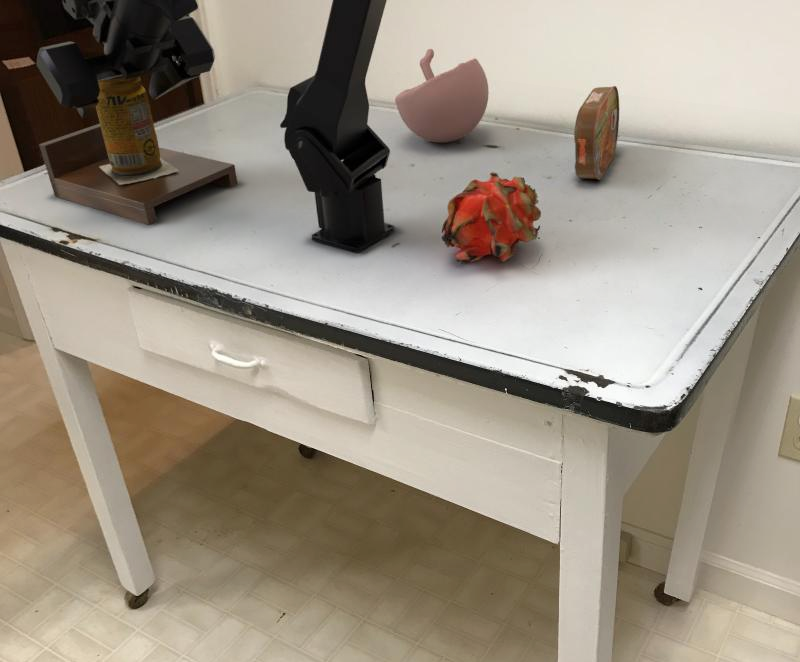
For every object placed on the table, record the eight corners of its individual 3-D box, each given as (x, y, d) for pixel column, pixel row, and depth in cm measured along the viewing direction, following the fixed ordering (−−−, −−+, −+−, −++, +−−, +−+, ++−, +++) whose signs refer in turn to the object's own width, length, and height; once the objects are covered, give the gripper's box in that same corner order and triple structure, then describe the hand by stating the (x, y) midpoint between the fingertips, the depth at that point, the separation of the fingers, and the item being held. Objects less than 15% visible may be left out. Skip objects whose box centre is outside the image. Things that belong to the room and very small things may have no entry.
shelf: (238, 184, 105) (228, 131, 101) (148, 224, 96) (135, 168, 92) (143, 161, 114) (132, 112, 111) (54, 196, 106) (38, 144, 102)
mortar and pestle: (431, 121, 121) (428, 35, 114) (505, 133, 115) (506, 43, 108) (380, 147, 113) (374, 56, 107) (457, 161, 107) (454, 66, 100)
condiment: (155, 154, 108) (133, 55, 102) (179, 172, 102) (157, 68, 96) (99, 168, 105) (71, 67, 99) (120, 187, 99) (92, 81, 93)
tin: (595, 190, 96) (600, 115, 92) (567, 188, 97) (571, 113, 93) (619, 147, 108) (625, 77, 103) (594, 145, 109) (598, 76, 104)
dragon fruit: (542, 250, 88) (457, 305, 83) (490, 189, 89) (404, 239, 85) (577, 203, 80) (485, 260, 76) (520, 137, 82) (426, 189, 77)
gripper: (180, -64, 93) (152, 32, 106) (14, -38, 83) (5, 65, 96) (233, 21, 92) (198, 107, 106) (72, 58, 82) (56, 148, 96)
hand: (117, 105), depth 101 cm, fingers open, 9 cm apart
